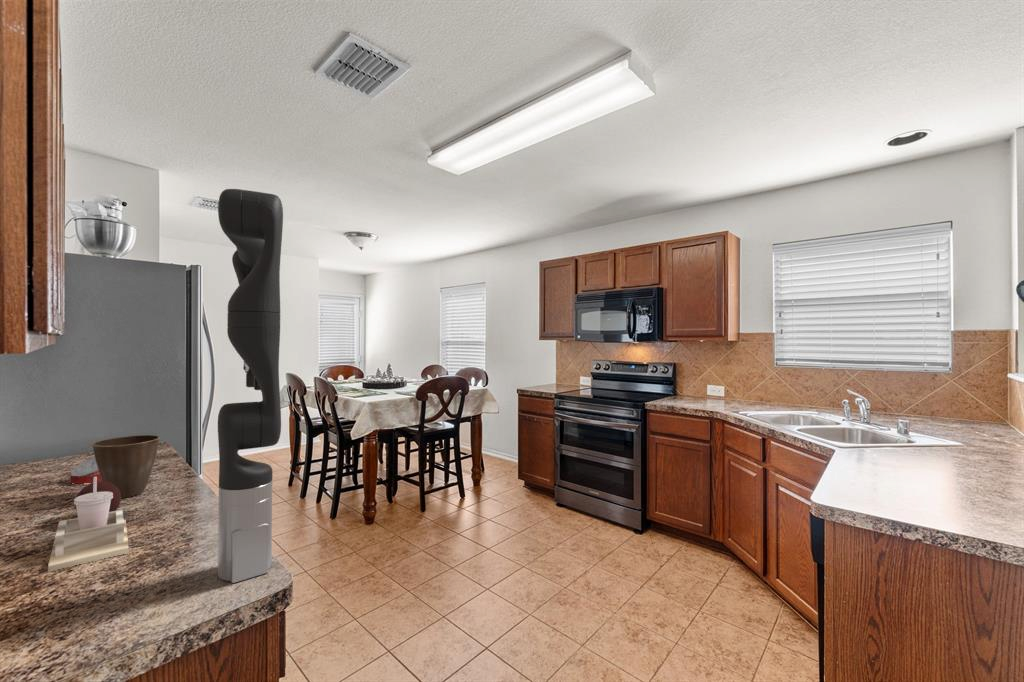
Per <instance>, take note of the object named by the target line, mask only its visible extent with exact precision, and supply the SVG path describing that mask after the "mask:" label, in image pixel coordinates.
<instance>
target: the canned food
mask: <svg viewBox="0 0 1024 682" xmlns="http://www.w3.org/2000/svg"><path fill="white" fill-rule="evenodd" d="M69 476H70V477H69V480H70V482H69V483H74V484H84V483H92V482H93V477H96V476H97V481H102V478H101V476H100V473H99V470H98V467H97V463H96V459H95V455H94V456H91V457H89V458H88V459H86V460H83V462H81V463H79V464H78V465H77V466H75V467H74V468H73V469H72V470H71V472H70V475H69Z"/></svg>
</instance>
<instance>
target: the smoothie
mask: <svg viewBox="0 0 1024 682" xmlns="http://www.w3.org/2000/svg"><path fill="white" fill-rule="evenodd" d="M112 498H113V493H112V492H97V476H96V477H93V493H89V494H85V495H81V496H79V497H77V496H75V498H74V500H73V505H74V506H75V505H76V508H75V510H76V509H77V511H76V513H77V518H78V522H79V528H80V530H83V529H88V528H93V527H98V526H103V525H107V519H108V514H109V508H110V502H111V499H112Z"/></svg>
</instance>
